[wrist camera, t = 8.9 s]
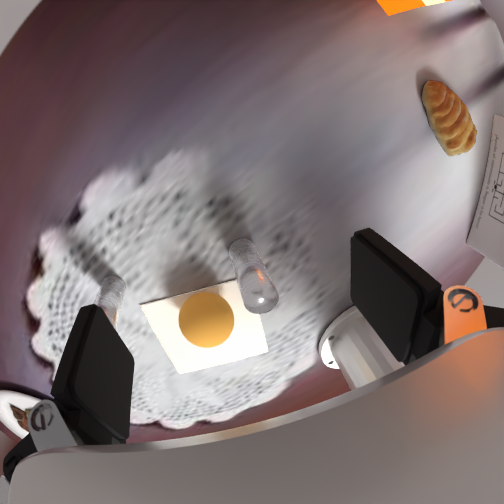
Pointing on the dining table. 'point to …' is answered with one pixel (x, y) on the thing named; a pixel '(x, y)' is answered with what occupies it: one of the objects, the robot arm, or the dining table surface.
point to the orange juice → (405, 5)
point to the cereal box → (491, 202)
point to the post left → (111, 297)
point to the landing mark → (196, 358)
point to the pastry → (448, 118)
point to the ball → (206, 320)
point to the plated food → (16, 411)
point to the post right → (252, 277)
